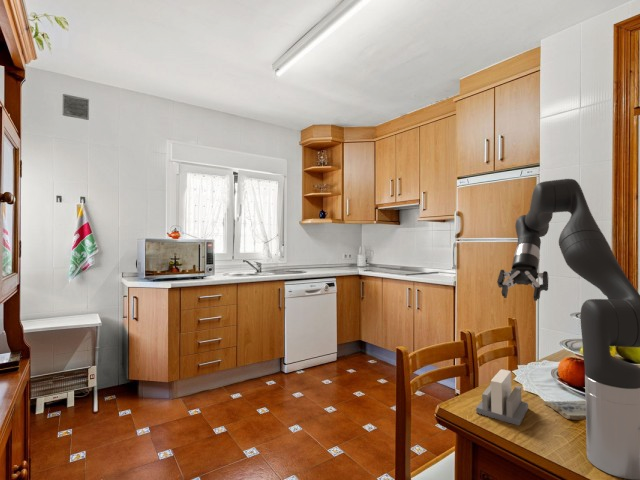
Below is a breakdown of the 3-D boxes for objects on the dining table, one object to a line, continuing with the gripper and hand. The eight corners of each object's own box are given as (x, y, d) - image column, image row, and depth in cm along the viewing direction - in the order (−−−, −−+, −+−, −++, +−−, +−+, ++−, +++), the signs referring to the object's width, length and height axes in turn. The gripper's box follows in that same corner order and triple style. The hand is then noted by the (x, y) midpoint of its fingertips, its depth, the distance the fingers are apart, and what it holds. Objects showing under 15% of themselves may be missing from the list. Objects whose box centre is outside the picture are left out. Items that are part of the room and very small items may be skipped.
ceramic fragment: (563, 416, 87) (541, 393, 97) (562, 427, 87) (540, 403, 97) (609, 416, 86) (582, 393, 96) (608, 428, 87) (581, 404, 96)
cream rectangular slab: (511, 400, 95) (510, 371, 95) (502, 414, 88) (501, 383, 88) (501, 397, 97) (500, 369, 97) (491, 411, 90) (490, 380, 89)
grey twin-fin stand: (528, 408, 94) (527, 388, 94) (519, 425, 85) (518, 403, 85) (488, 398, 100) (487, 379, 100) (476, 413, 92) (475, 392, 92)
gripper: (501, 252, 122) (492, 288, 113) (549, 252, 113) (544, 292, 104) (505, 266, 126) (497, 302, 117) (552, 267, 117) (547, 307, 108)
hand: (519, 297), depth 111 cm, fingers open, 8 cm apart
